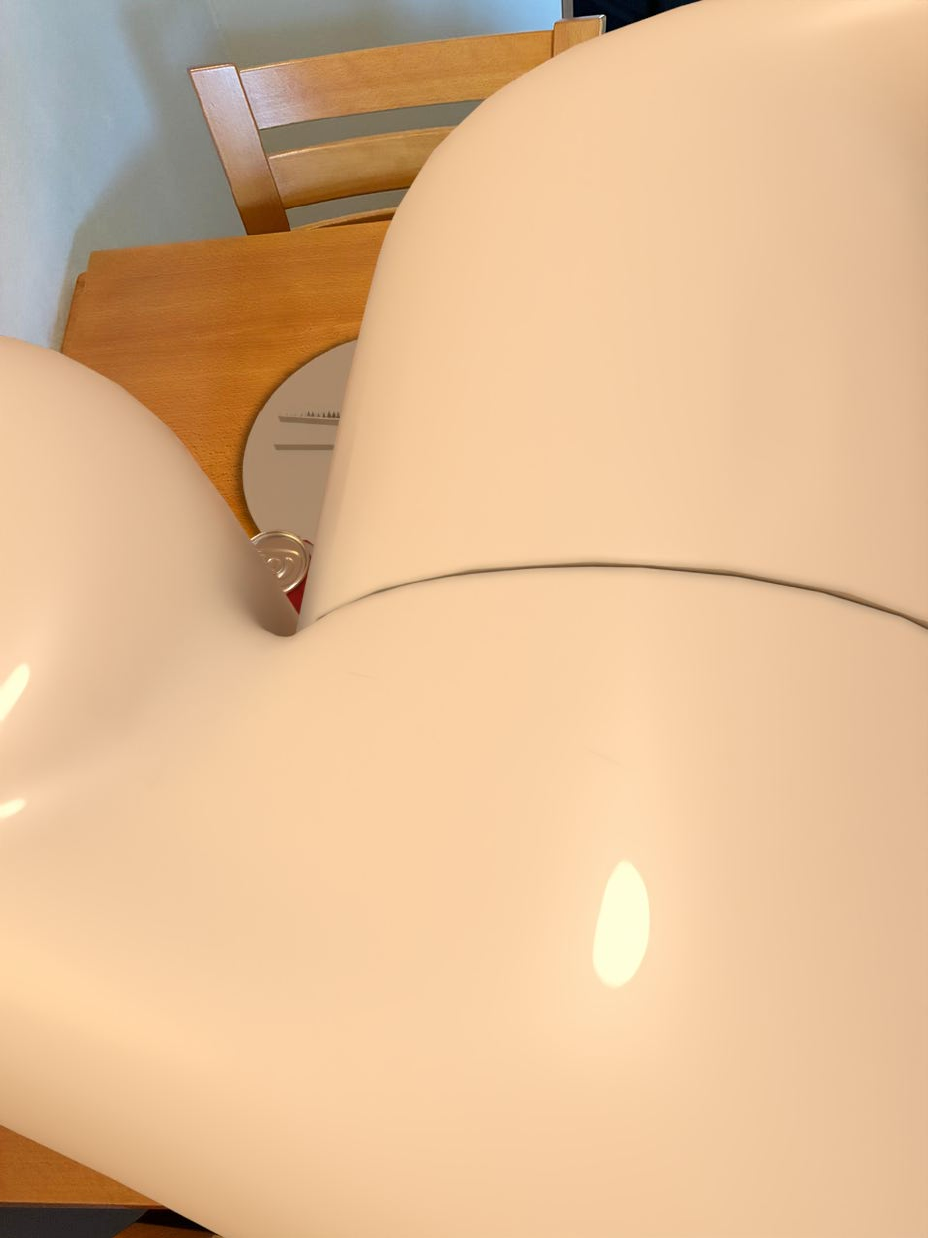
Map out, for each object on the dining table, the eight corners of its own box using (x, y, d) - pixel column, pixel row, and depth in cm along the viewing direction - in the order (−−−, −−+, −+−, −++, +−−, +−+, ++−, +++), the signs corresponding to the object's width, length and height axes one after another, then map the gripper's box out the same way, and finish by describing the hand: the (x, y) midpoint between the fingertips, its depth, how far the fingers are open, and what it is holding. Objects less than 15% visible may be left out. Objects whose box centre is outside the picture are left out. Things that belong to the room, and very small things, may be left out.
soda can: (335, 675, 75) (295, 614, 64) (262, 654, 76) (211, 591, 66) (365, 604, 77) (331, 533, 66) (293, 584, 79) (249, 512, 68)
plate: (564, 342, 87) (564, 333, 86) (520, 606, 76) (519, 600, 74) (286, 325, 91) (283, 316, 90) (206, 570, 80) (201, 564, 79)
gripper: (412, 1355, 15) (491, 1193, 31) (405, 480, 22) (472, 707, 38) (-15, 1358, 16) (274, 1198, 31) (113, 506, 23) (296, 718, 39)
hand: (383, 929), depth 35 cm, fingers open, 9 cm apart
